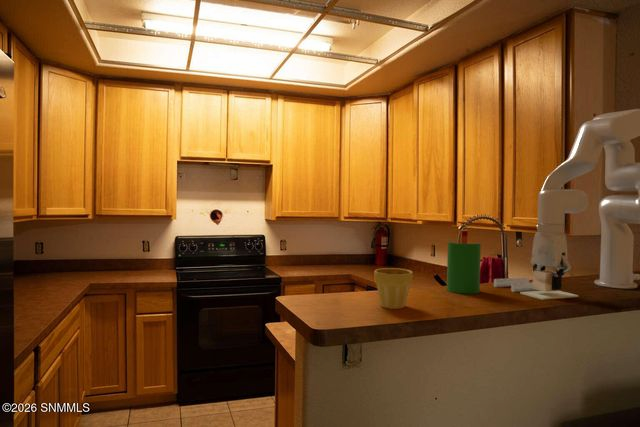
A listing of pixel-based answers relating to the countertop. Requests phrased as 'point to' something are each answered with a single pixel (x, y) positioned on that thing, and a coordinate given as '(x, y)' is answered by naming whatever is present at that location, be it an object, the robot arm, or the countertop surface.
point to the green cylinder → (463, 266)
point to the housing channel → (515, 284)
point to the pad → (548, 294)
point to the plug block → (543, 280)
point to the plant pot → (393, 286)
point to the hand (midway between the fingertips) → (549, 287)
